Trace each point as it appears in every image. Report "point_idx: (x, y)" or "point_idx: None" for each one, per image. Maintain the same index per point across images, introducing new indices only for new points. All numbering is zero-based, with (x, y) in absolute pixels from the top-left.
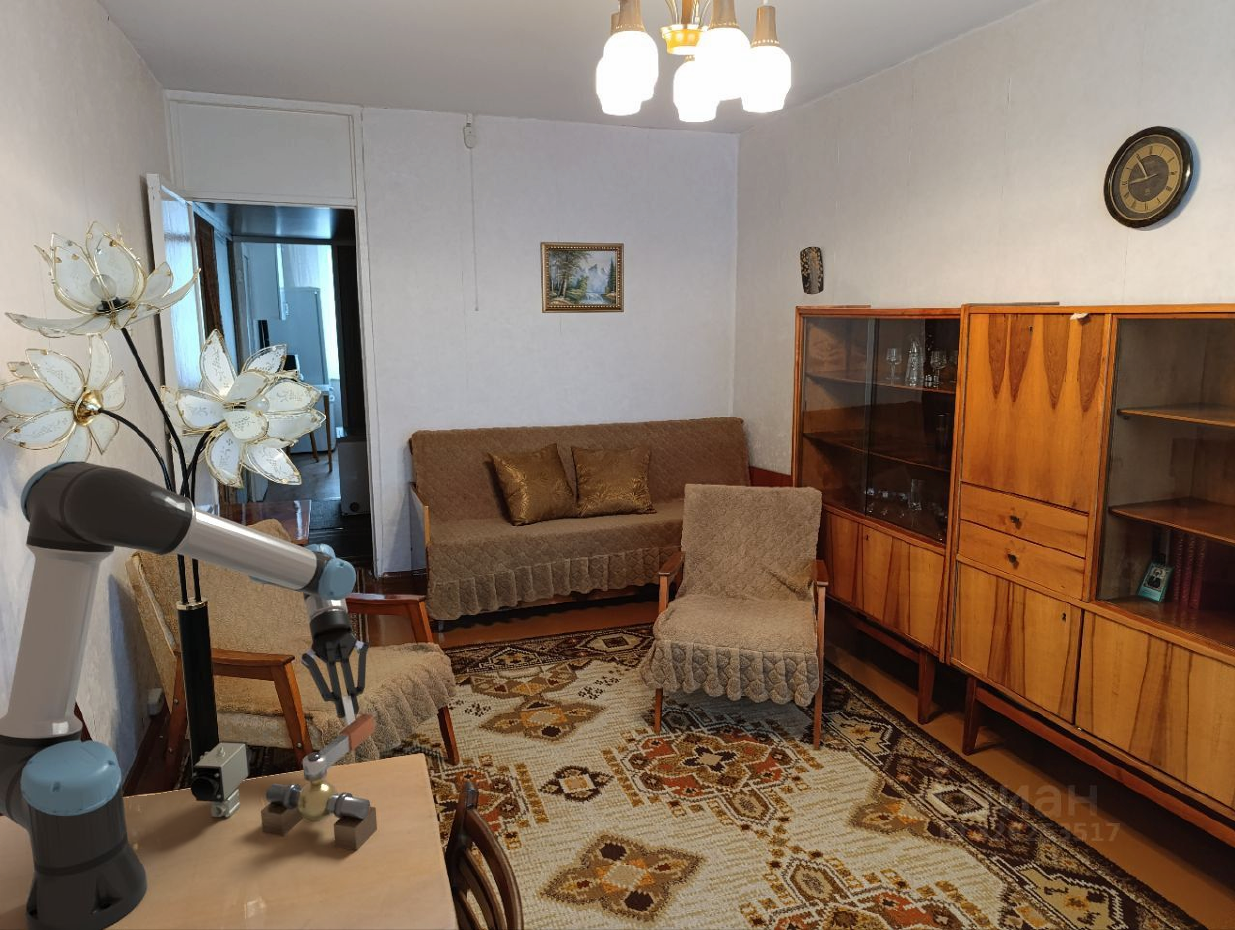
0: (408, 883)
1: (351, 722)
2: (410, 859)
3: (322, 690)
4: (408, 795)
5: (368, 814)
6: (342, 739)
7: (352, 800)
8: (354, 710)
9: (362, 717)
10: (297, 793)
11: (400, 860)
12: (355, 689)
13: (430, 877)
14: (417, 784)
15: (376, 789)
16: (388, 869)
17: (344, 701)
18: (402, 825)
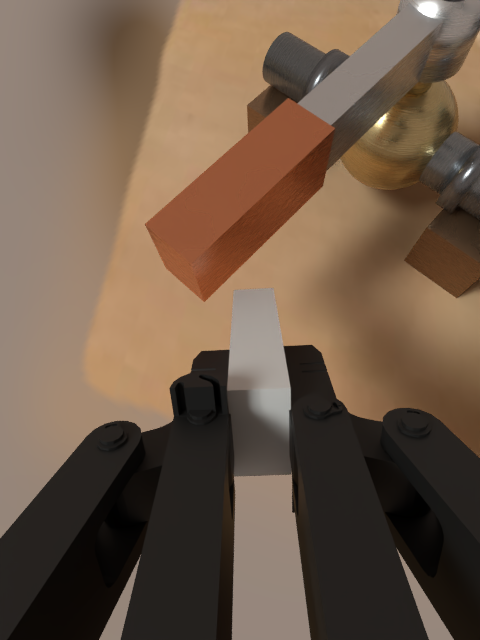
0: (231, 3)
1: (255, 302)
2: (211, 49)
3: (473, 455)
4: (147, 241)
5: (268, 87)
6: (328, 82)
7: (308, 47)
8: (223, 354)
9: (203, 226)
10: (460, 134)
11: (228, 53)
12: (172, 426)
13: (194, 3)
14: (110, 279)
15: (213, 302)
16: (254, 40)
17: (277, 366)
18: (195, 142)
